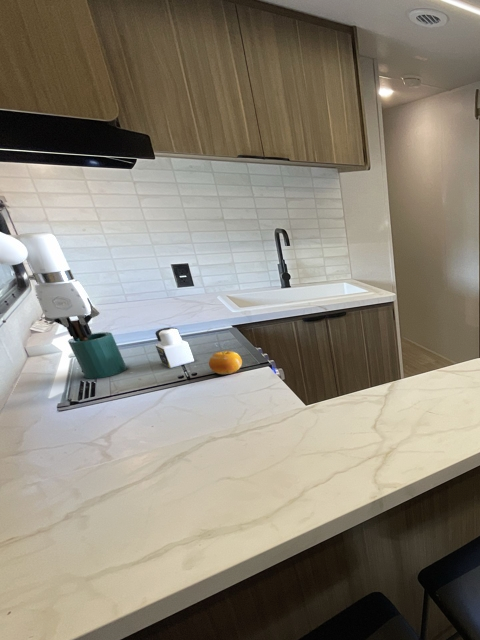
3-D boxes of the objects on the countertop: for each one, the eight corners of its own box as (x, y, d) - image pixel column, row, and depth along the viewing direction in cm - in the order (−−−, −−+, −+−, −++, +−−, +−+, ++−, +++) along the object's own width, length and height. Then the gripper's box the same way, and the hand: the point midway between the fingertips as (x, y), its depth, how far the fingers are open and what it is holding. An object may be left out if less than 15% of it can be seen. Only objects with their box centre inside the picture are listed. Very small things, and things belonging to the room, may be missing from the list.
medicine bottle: (162, 363, 136) (148, 330, 131) (186, 357, 142) (174, 324, 137) (170, 368, 132) (156, 333, 128) (194, 361, 138) (182, 328, 133)
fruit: (251, 358, 130) (229, 340, 126) (232, 376, 124) (209, 359, 120) (240, 365, 135) (218, 348, 131) (222, 383, 129) (199, 366, 125)
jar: (76, 378, 126) (58, 342, 121) (106, 366, 135) (90, 332, 130) (106, 378, 126) (90, 342, 121) (134, 366, 135) (120, 332, 130)
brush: (80, 365, 126) (60, 322, 120) (94, 359, 130) (75, 318, 124) (94, 365, 126) (74, 322, 120) (107, 359, 130) (88, 318, 124)
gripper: (10, 282, 111) (42, 345, 118) (86, 276, 117) (111, 336, 125) (23, 278, 117) (53, 338, 124) (95, 273, 123) (119, 330, 131)
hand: (82, 337), depth 124 cm, fingers closed on brush
